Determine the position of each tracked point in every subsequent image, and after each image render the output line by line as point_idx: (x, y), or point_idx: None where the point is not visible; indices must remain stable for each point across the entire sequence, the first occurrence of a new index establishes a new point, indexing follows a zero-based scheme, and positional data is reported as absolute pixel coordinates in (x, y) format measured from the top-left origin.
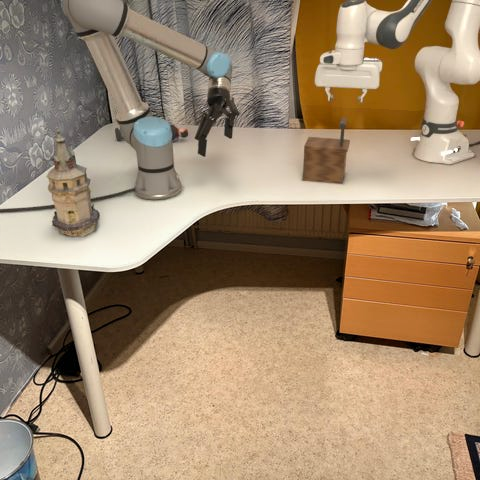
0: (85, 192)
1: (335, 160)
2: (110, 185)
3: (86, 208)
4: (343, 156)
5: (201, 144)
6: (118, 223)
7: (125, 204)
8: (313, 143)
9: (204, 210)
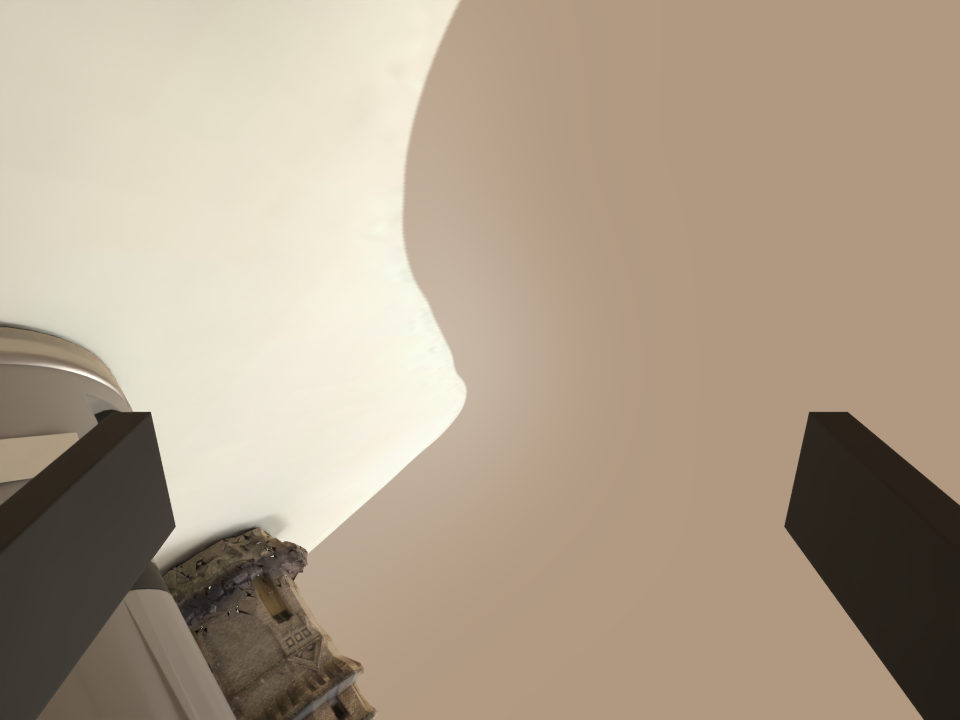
0: (334, 655)
1: None
2: None
3: (303, 605)
4: None
5: (70, 631)
6: (249, 491)
7: None
8: None
9: (393, 221)
